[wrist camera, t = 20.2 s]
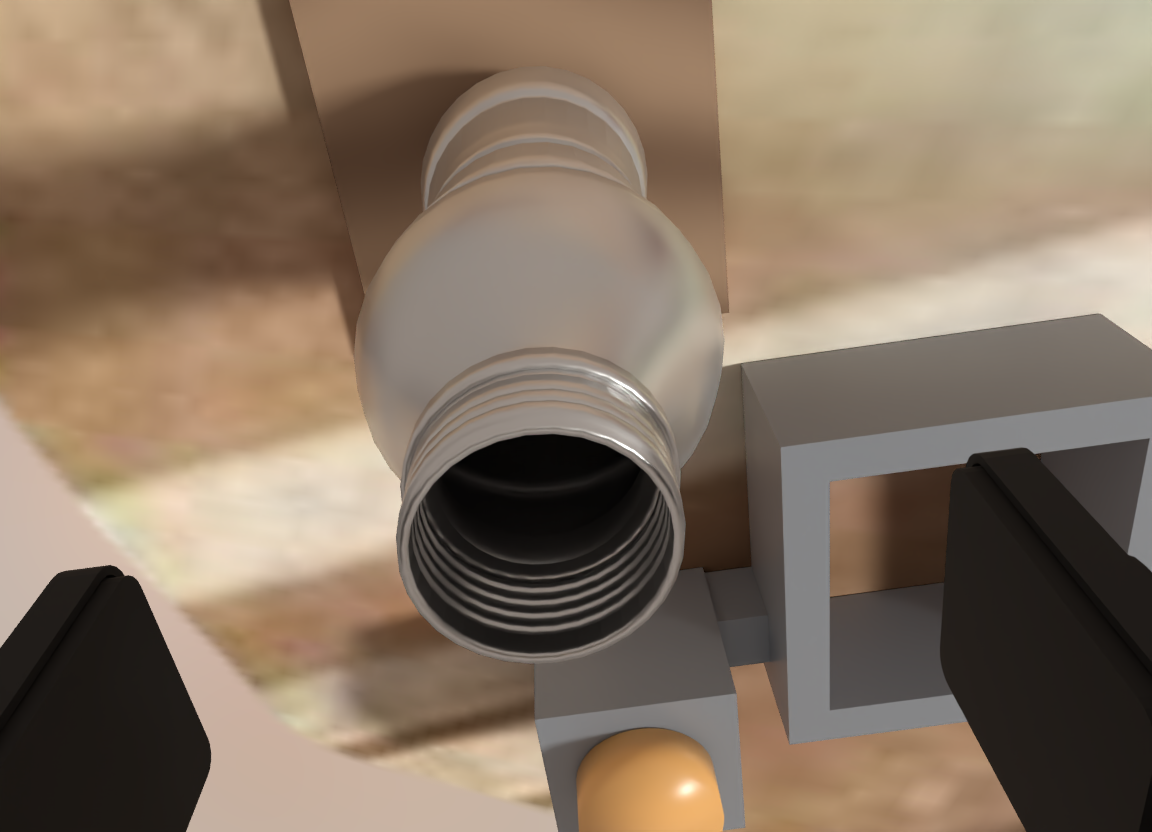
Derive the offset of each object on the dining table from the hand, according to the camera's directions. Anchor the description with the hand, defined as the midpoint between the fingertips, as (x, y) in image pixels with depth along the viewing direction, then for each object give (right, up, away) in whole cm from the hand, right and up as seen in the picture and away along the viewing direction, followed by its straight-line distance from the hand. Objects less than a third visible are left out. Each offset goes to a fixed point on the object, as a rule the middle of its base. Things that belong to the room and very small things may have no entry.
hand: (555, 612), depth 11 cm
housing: (+9, -3, +27) cm, 29 cm away
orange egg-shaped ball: (+3, -9, +26) cm, 28 cm away
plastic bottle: (-1, +10, +18) cm, 21 cm away
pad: (-1, +11, +19) cm, 22 cm away
